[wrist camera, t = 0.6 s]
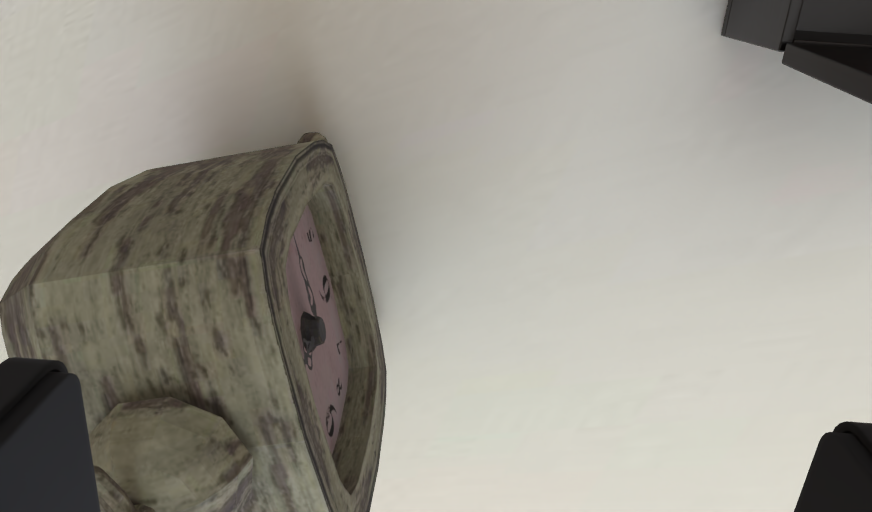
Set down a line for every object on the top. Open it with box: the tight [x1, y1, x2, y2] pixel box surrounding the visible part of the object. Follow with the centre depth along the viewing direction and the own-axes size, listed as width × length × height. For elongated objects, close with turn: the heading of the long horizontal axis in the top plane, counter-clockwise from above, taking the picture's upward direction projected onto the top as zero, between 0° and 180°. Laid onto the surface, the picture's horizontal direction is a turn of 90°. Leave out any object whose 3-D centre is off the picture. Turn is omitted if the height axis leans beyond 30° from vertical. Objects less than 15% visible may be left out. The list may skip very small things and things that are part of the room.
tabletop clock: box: [0, 132, 386, 512], centre depth 27 cm, size 14×9×25 cm, turn 10°
